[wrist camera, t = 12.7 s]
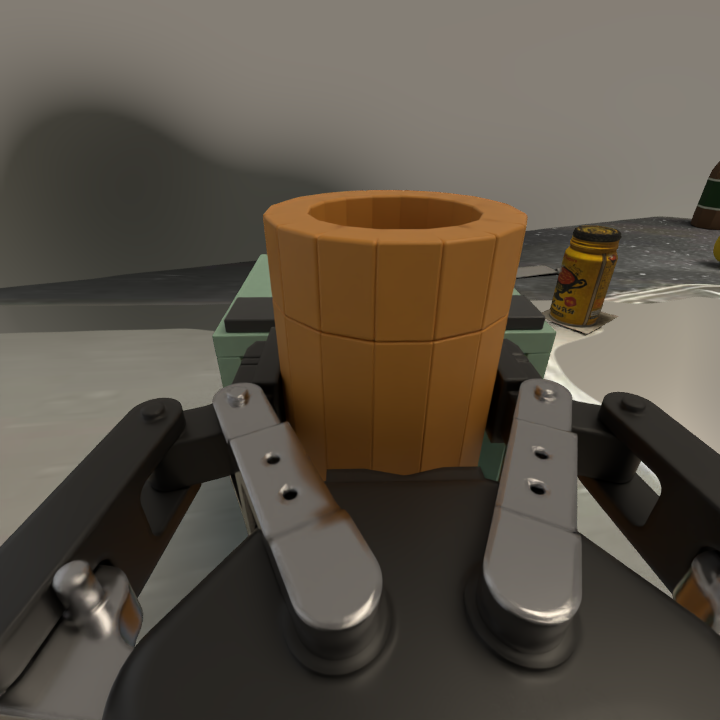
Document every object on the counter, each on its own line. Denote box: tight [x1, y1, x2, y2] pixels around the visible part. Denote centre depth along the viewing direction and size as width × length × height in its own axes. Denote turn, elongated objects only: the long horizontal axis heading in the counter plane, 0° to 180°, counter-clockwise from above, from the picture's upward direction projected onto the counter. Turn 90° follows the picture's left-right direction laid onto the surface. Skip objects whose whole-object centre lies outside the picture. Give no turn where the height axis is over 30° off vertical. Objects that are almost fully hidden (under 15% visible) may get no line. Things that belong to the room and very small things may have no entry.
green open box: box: [212, 255, 556, 481], centre depth 25 cm, size 14×11×17 cm
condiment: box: [542, 226, 621, 334], centre depth 54 cm, size 7×8×12 cm
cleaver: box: [516, 265, 561, 278], centre depth 73 cm, size 13×1×5 cm
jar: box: [263, 190, 527, 481], centre depth 13 cm, size 6×6×13 cm
